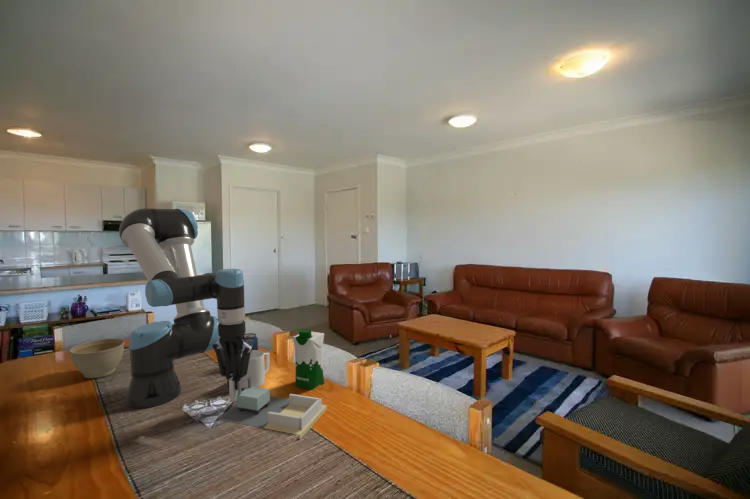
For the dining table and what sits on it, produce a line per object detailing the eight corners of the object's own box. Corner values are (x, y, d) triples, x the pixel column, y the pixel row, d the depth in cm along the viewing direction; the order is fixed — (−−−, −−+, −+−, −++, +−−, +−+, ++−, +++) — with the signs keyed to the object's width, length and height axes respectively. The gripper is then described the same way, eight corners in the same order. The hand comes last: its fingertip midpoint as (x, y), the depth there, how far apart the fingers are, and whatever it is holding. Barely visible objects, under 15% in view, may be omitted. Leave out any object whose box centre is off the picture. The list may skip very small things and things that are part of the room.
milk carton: (291, 389, 121) (289, 331, 120) (307, 379, 129) (306, 324, 128) (313, 394, 117) (312, 334, 116) (328, 383, 126) (327, 326, 124)
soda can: (255, 368, 139) (254, 338, 138) (237, 368, 139) (236, 338, 138) (261, 361, 146) (260, 332, 145) (244, 361, 146) (242, 332, 145)
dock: (217, 423, 101) (216, 408, 101) (253, 397, 116) (252, 384, 116) (300, 439, 93) (299, 423, 93) (327, 409, 108) (326, 395, 108)
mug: (248, 394, 118) (247, 361, 117) (232, 388, 123) (231, 356, 122) (277, 381, 128) (276, 350, 127) (261, 375, 133) (260, 345, 132)
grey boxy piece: (237, 411, 105) (236, 382, 104) (250, 401, 111) (249, 374, 110) (257, 415, 103) (256, 385, 102) (270, 405, 108) (269, 377, 108)
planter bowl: (61, 379, 131) (59, 349, 131) (108, 363, 146) (107, 336, 146) (89, 386, 125) (87, 355, 125) (135, 368, 140) (134, 341, 140)
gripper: (204, 323, 105) (207, 402, 107) (241, 326, 101) (244, 408, 103) (222, 317, 112) (225, 391, 114) (258, 319, 108) (261, 396, 110)
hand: (234, 399), depth 108 cm, fingers closed
